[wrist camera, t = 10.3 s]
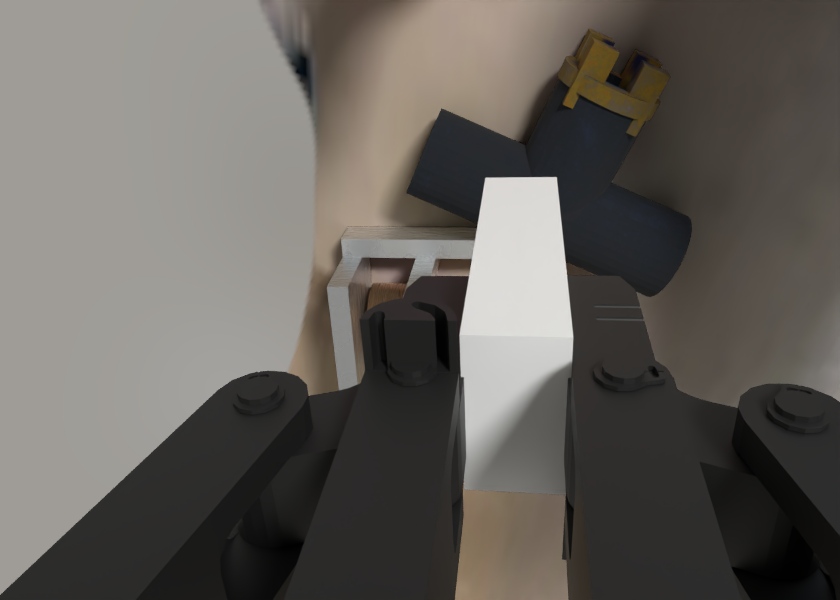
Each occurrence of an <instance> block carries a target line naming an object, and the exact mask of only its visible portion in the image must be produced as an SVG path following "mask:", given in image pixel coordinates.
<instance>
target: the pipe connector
mask: <svg viewBox="0 0 840 600" xmlns="http://www.w3.org/2000/svg"><path fill="white" fill-rule="evenodd" d="M614 44H615V43H614V41H613V39H611V38H609V37H607V36H605V35H602V34H600V33H598V32H596V31H594V30H591V29H589V30H588V32H587V34H586V36H585V38H584V40H583V42H582V44H581V46H580V48H579V50H578V52H577V54H576V56H575V57H573V56H568V57H566V59H565V61H564V63H563V65H562V67H561V69H560V71H559V73H558V77H559V80H558V82H557V84H556V86H555V88H554V90H553V92H552V94H551V96H550V98H549V100H548V102H547V104H546V106H545V108H544V110H543V112H542V114H541V116H540V118H539V120H538V122H537V124H536V126H535V128H534V130H533V132H532V134H531V136H530V138H529V140H528V143H527V145H524V144H522V143H519V142H517V141H515V140H512V139H510V138H508V137H506V136H503V135H501V134H499V133H496V132H494V131H492V130H490V129H487V128H485V127H483V126H481V125H478V124H476V123H474V122H471V121H469V120H467V119H465V118H462V117H460V116H458V115H455V114H453V113H451V112H449V111H446V110H444V109H441V111H440V113H439V116H438V118H437V120H436V123H435V125H434V127H433V130H432V132H431V134H430V137H429V139H428V142H427V144H426V146H425V149H424V151H423V154H422V156H421V158H420V161H419V163H418V166H417V168H416V170H415V173H414V175H413V178H412V180H411V183H410V185H409V188H408V190H407V194H410V195H412V196H414V197H417V198H419V199H421V200H424V201H426V202H428V203H431V204H433V205H435V206H438V207H440V208H442V209H445V210H447V211H449V212H452V213H454V214H456V215H459V216H461V217H463V218H466V219H468V220H470V221H473V222H475V223H477V224H478V220H479V214H480V208H481V202H482V196H483V189H484V183H485V178H505V177H557V184H558V194H559V204H560V213H561V223H562V232H563V242H564V252H565V261H566V262H568V263H571V264H573V265H575V266H578V267H580V268H582V269H585V270H587V271H589V272H592V273H594V274H596V275H599V276H620V277H621V278H622V279H624V280H625V281H626V282H627V283H628V284H629V285H631V286H632V287H633V288H634V289H635V290H636V292H638V293H641V294H643V295H645V296H649V297H651V296H654V295H656V294H657V293H659V292H660V291H661V290H662V289H663V288H664V287H665V286H666V285H667V284H668V283H669V281H670V280H671V279H672V277H673V276H674V274H675V273H676V271H677V269H678V268H679V266H680V264H681V262H682V260H683V258H684V255H685V253H686V251H687V248H688V245H689V241H690V237H691V230H692V224H691V220H690V218H689V217H688V216H686V215H683V214H681V213H679V212H676V211H674V210H672V209H670V208H667V207H665V206H663V205H661V204H658V203H656V202H654V201H651V200H649V199H647V198H645V197H642V196H640V195H638V194H635V193H633V192H631V191H629V190H626V189H624V188H622V187H619V186H617V185H615V184H613V183H611V181H612V180H613V178H614V176H615V174H616V173H617V171H618V169H619V167H620V166H621V164H622V162H623V160H624V159H625V157H626V155H627V153H628V152H629V150H630V148H631V147H632V145H633V143H634V141H635V140H636V138H637V136H638V134H639V133H640V131H641V129H642V127H643V126H644V124H645V122H646V121H649V120H650V119H651V118H652V116H653V114H654V113H655V111H656V109H657V107H658V106H659V104H660V101H659V99H658V97H659V96H660V94H661V92H662V90H663V89H664V87H665V85H666V83H667V82H668V80H669V78H670V75H669V74H668V73H667V71H666V70H664V69H661V66H662V64H661V63H660V62H659V60H658V59H655V58H653V57H651V56H649V55H647V54H644V53H642V52H640V51H638V50H636V49H635V51H634V53H633V55H632V56H631V58H630V60H629V62H628V64H627V66H626V68H625V69H624V71H623V73H622V75H619V74H617V73H615V72H613V71H611V70H612V68H613V66H614V64H615V62H616V60H617V58H618V56H619V54H620V53H619V51H618V49H617V48H615V47H613V46H614Z"/></svg>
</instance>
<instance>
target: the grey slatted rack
mask: <svg viewBox="0 0 840 600" xmlns="http://www.w3.org/2000/svg"><path fill="white" fill-rule="evenodd" d="M476 232H477V228H470V227H361V226H348V228H347V229H346V231H345V233H344V234H343V236H342V238H341V245H342V254H343V258H342V259H341V261H340V263H339V265H338V267H337V269H336V271H335V272H334V274H333V276H332V278H331V280H330V282H329V284H328V285H327V293H328V301H329V310H330V319H331V327H332V336H333V344H334V353H335V361H336V370H337V378H338V387H339V390H343V389H347V388H350V387H352V386H355V385H357V384H360V383H361V380H362V378H363V375H364V372H365V365H364V356H363V347H362V337H361V328H360V318H361V317H362V316H363V315H364V313H365V312H366V311H367V305H368V297H369V292H370V289H371V286H372V281H371V269H370V258H416V259H415V262H414V265H413V268H412V271H411V274H410V277H409V280H408V283H407V286H406V288H407V287H409V286H410V285H411V284H412V283H413V282H415V281H416V280H417V279H418V278H420V277H421V276H436V275H437V271H438V267H439V263H440V259H472V256H473V250H474V244H475V238H476ZM405 290H406V289H405ZM404 293H405V292H404ZM403 296H404V295H403Z"/></svg>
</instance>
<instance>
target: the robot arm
mask: <svg viewBox="0 0 840 600" xmlns="http://www.w3.org/2000/svg"><path fill="white" fill-rule="evenodd" d="M360 328H361V337H362V347H363V356H364V365H365V372H364V375H363V378H362V380H361V383H360V384H357V385H355V386H352V387H350V388H347V389H343V390H339V391H335V392H329V393H323V394H317V395H312V396H308V390H307V385H306V384H305V383H304V382H303V381H302V380H301V379H300V378H299V377H298V376H295V375H292V374H289V373H286V372H277V371H263V372H255V373H251V374H248V375H245V376H243V377H240V378H237V379H235V380H232V381H231V382H229V383H228V384H226V385H225V386H223V387H222V388H220V389H219V390H218V391H217V392H216V393H215V394H213V396H211V397H210V398H209V399H208V400H207V401H206V402H205V403H204V404H203V405H202V406H201V407H200V408H199V409H198V410H196V412H194V413H193V414H192V415H191V416H190V417H189V418H188V419H187V420H186V421H185V422H184V423H183V424H182V425H181V426H180V427H178V428H177V429H176V430H175V431H174V432H173V433H172V434H171V435H170V436H169V437H168V438H167V439H166V440H165V441H163V442H162V444H160V445H159V446H158V447H157V448H156V449H155V450H154V451H153V452H152V453H151V454H150V455H149V456H148V457H146V458H145V459H144V460H143V461H142V462H141V463H140V464H139V465H138V466H137V467H136V468H135V469H134V470H133V471H132V472H131V473H130V474H128V475H127V476H126V477H125V478H124V479H123V480H122V481H121V482H120V483H119V484H118V485H117V486H116V487H115V488H114V489H112V490H111V491H110V493H108V494H107V495H106V496H105V497H104V498H103V499H102V500H101V501H100V502H99V503H98V504H97V505H96V506H94V507H93V508H92V509H91V510H90V511H89V512H88V513H87V514H86V515H85V516H84V517H83V518H82V519H81V520H80V521H79V522H77V523H76V524H75V525H74V526H73V527H72V528H71V529H70V530H69V531H68V532H67V533H66V534H65V535H64V536H62V537H61V538H60V539H59V540H58V541H57V542H56V543H55V544H54V545H53V546H52V547H51V548H50V549H49V550H48V551H47V552H46V553H44V554H43V555H42V556H41V557H40V558H39V559H38V560H37V561H36V562H35V563H34V564H33V565H32V566H31V567H30V568H29V569H28V570H26V571H25V572H24V573H23V574H22V575H21V576H20V577H19V578H18V579H17V580H16V581H15V582H14V583H13V584H11V585H10V586H9V587H8V588H7V589H6V590H5V591H4V592H3V593H2V594H1V595H0V600H455V591H456V582H457V572H458V563H459V553H460V544H461V534H462V525H463V482H464V490H481V491H500V492H519V493H538V494H557V495H565V486H566V500H565V518H564V536H563V555H562V559H564V560H567V579H568V597H569V600H840V402H839V401H837V400H836V399H834V398H833V397H831V396H828V395H826V394H824V393H821V392H819V391H816V390H814V389H811V388H808V387H804V386H798V385H792V384H765V385H761V386H757V387H753V388H751V389H749V390H748V391H747V392H746V393H744V394H743V395H742V396H741V397H740V402H739V406H738V408H735V407H730V406H726V405H721V404H717V403H712V402H708V401H705V400H701V399H698V398H695V397H692V396H690V395H688V394H686V393H683V392H681V391H679V390H678V389H677V387H676V384H675V381H674V378H673V377H672V375H671V374H670V372H669V371H668V369H667V368H666V367H664V366H663V365H661V364H660V363H658V362H657V361H655V358H654V354H653V351H652V347H651V344H650V340H649V337H648V333H647V329H646V326H645V322H644V321H643V315H642V312H641V308H640V305H639V301H638V297H637V294H636V290H635V289H634V288H633V287H632V286H631V285H629V284H628V283H627V282H626V281H625V280H624V279H622V278H621V277H620V276H582V275H567V271H566V261H565V252H564V242H563V232H562V223H561V213H560V204H559V194H558V184H557V177H505V178H485V183H484V189H483V196H482V202H481V208H480V214H479V220H478V226H477V232H476V238H475V244H474V250H473V256H472V262H471V268H470V274H469V276H421V277H420V278H418V279H417V280H416V281H415V282H413V283H412V284H411V285H410V286H409V287H407V288H406V290H405V293H404V296H403V298H399V299H393V300H390V301H386V302H382V303H379V304H377V305H376V306H374V307H372V308H370V309H368V310H367V311H366V312H365V313H364V315H363V316H362V317H361V318H360Z"/></svg>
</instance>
